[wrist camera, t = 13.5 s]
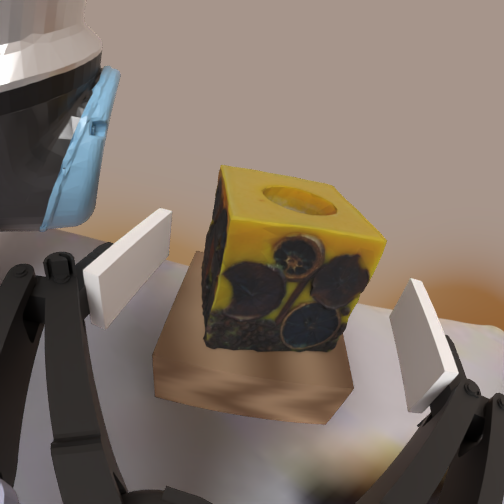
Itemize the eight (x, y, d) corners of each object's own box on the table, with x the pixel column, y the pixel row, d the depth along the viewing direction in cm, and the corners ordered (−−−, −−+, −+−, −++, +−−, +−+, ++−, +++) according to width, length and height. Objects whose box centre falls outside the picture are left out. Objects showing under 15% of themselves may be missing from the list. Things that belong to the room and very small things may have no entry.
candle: (200, 267, 28) (216, 162, 24) (302, 277, 31) (332, 183, 26) (200, 352, 20) (221, 216, 15) (335, 354, 22) (391, 240, 17)
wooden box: (155, 400, 22) (152, 354, 19) (191, 296, 34) (196, 250, 31) (323, 427, 22) (353, 388, 19) (312, 320, 34) (329, 278, 31)
